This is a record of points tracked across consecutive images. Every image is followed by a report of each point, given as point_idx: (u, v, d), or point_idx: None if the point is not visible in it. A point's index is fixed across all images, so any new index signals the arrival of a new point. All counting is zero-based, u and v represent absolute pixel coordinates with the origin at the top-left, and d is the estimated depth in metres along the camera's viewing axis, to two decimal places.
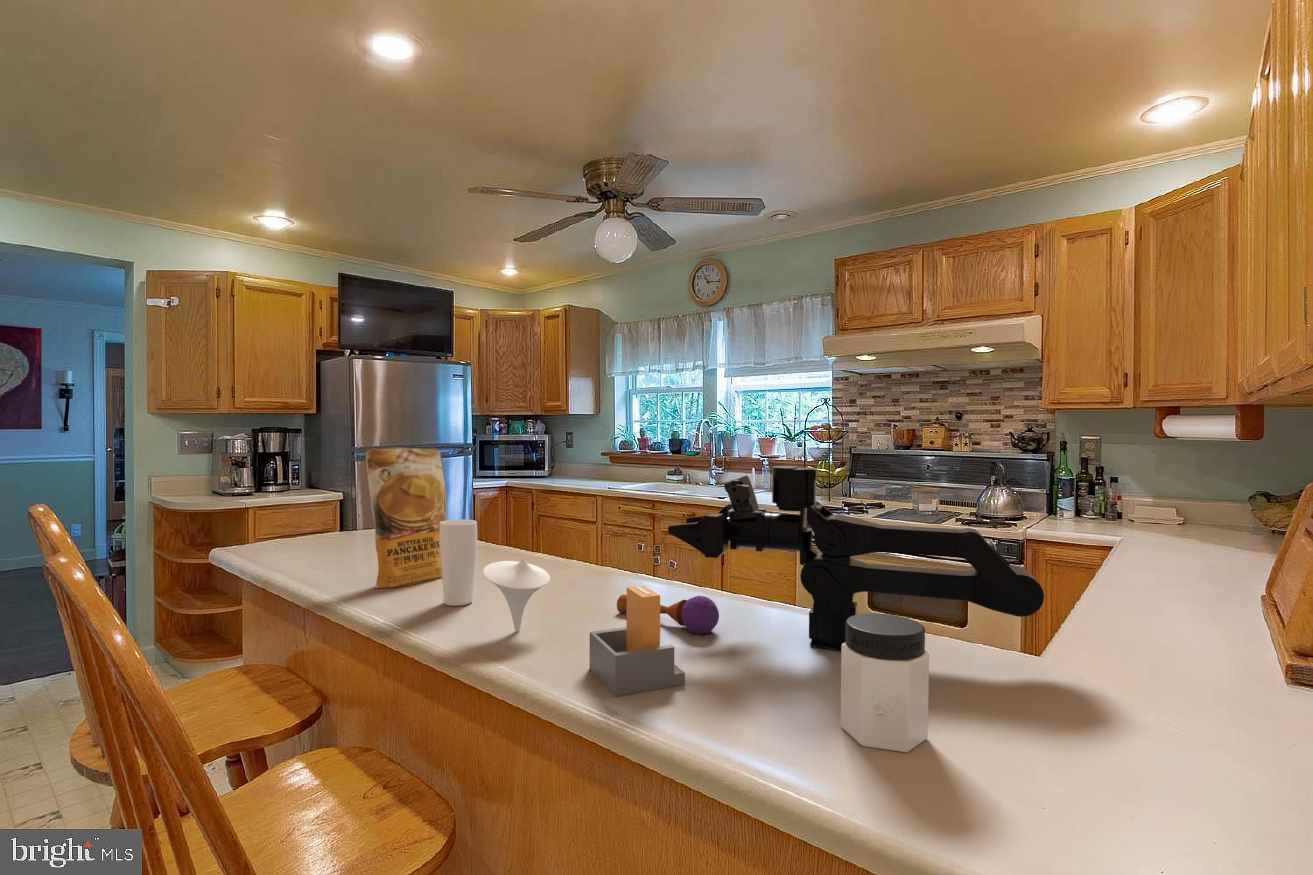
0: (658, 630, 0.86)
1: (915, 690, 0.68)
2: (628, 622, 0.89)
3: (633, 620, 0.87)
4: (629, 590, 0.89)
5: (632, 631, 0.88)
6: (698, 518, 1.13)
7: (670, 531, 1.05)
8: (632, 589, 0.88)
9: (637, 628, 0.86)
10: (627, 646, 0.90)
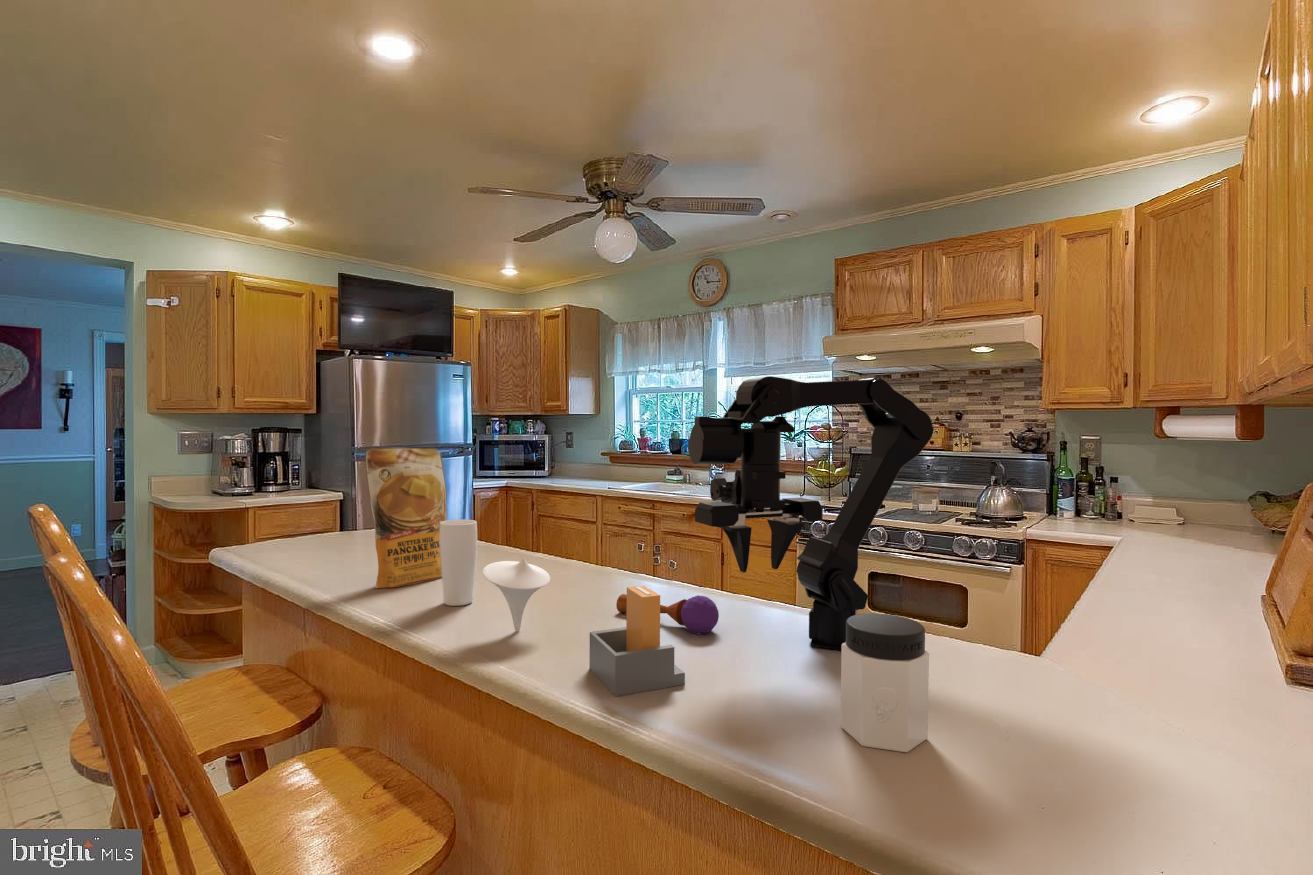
0: (658, 630, 0.86)
1: (915, 690, 0.68)
2: (628, 622, 0.89)
3: (633, 620, 0.87)
4: (629, 590, 0.89)
5: (632, 631, 0.88)
6: (771, 553, 0.98)
7: (742, 569, 0.95)
8: (632, 589, 0.88)
9: (637, 628, 0.86)
10: (627, 646, 0.90)
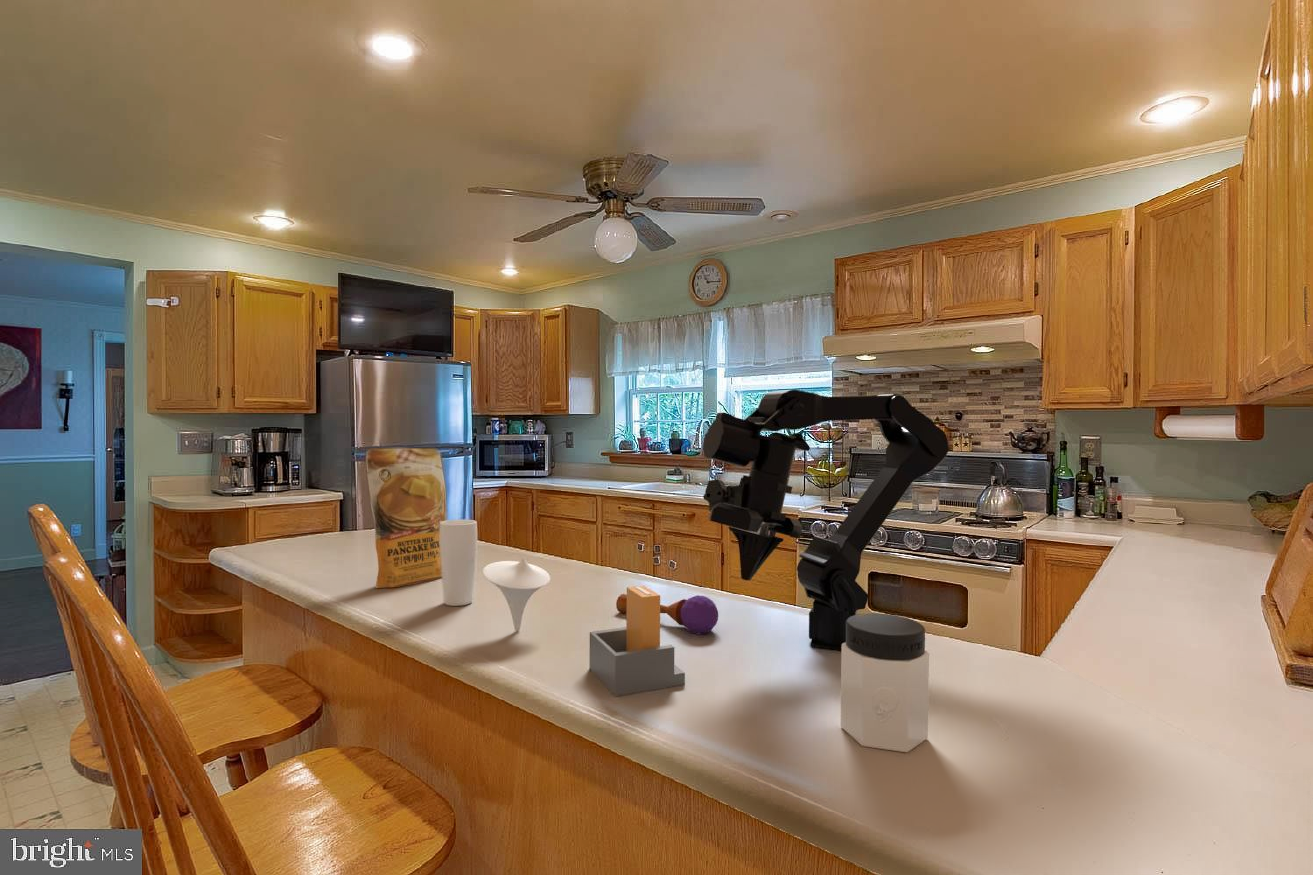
0: (658, 630, 0.86)
1: (915, 690, 0.68)
2: (628, 622, 0.89)
3: (633, 620, 0.87)
4: (629, 590, 0.89)
5: (632, 631, 0.88)
6: None
7: (746, 577, 0.95)
8: (632, 589, 0.88)
9: (637, 628, 0.86)
10: (627, 646, 0.90)
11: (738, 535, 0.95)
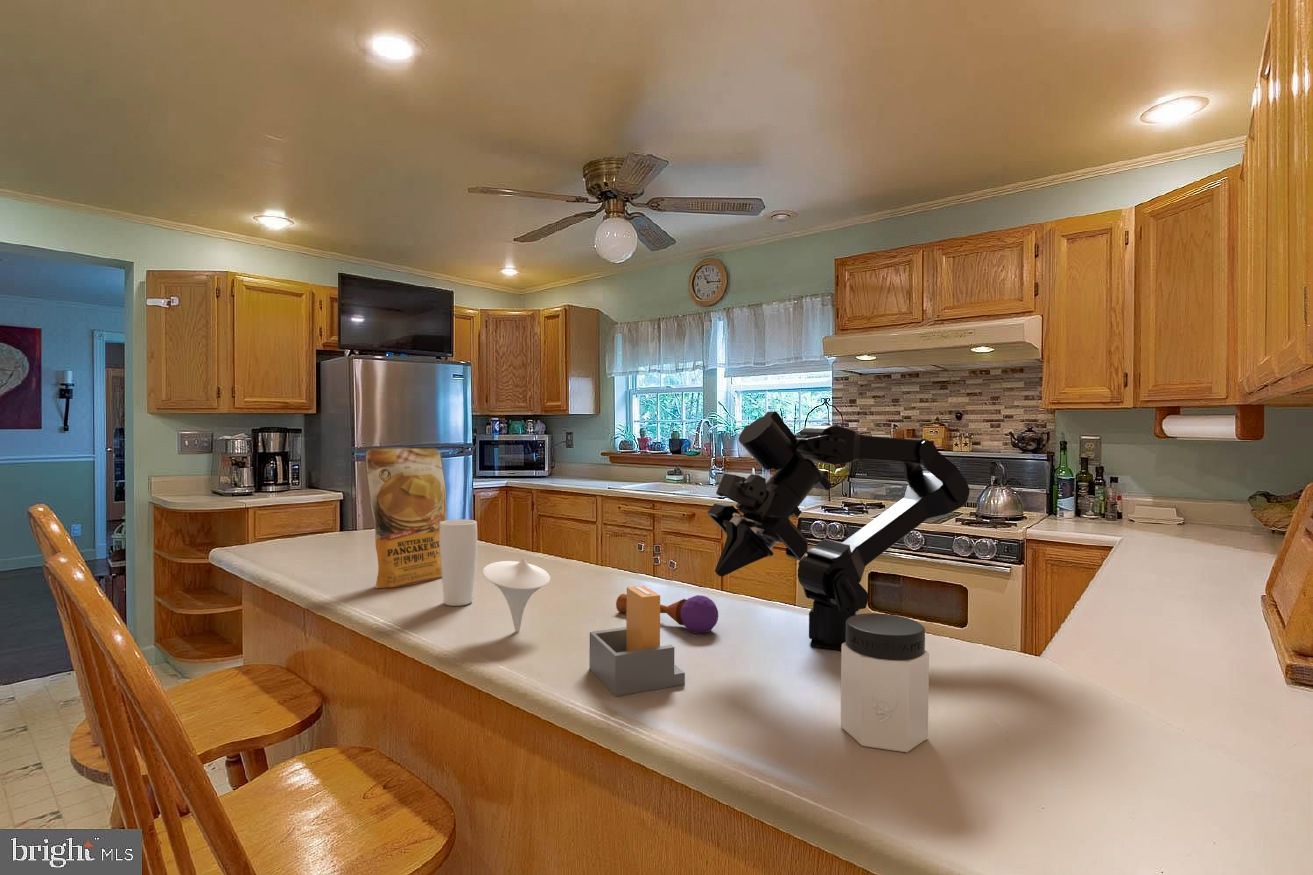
0: (658, 630, 0.86)
1: (915, 690, 0.68)
2: (628, 622, 0.89)
3: (633, 620, 0.87)
4: (629, 590, 0.89)
5: (632, 631, 0.88)
6: None
7: (722, 573, 0.92)
8: (632, 589, 0.88)
9: (637, 628, 0.86)
10: (627, 646, 0.90)
11: (745, 537, 0.91)
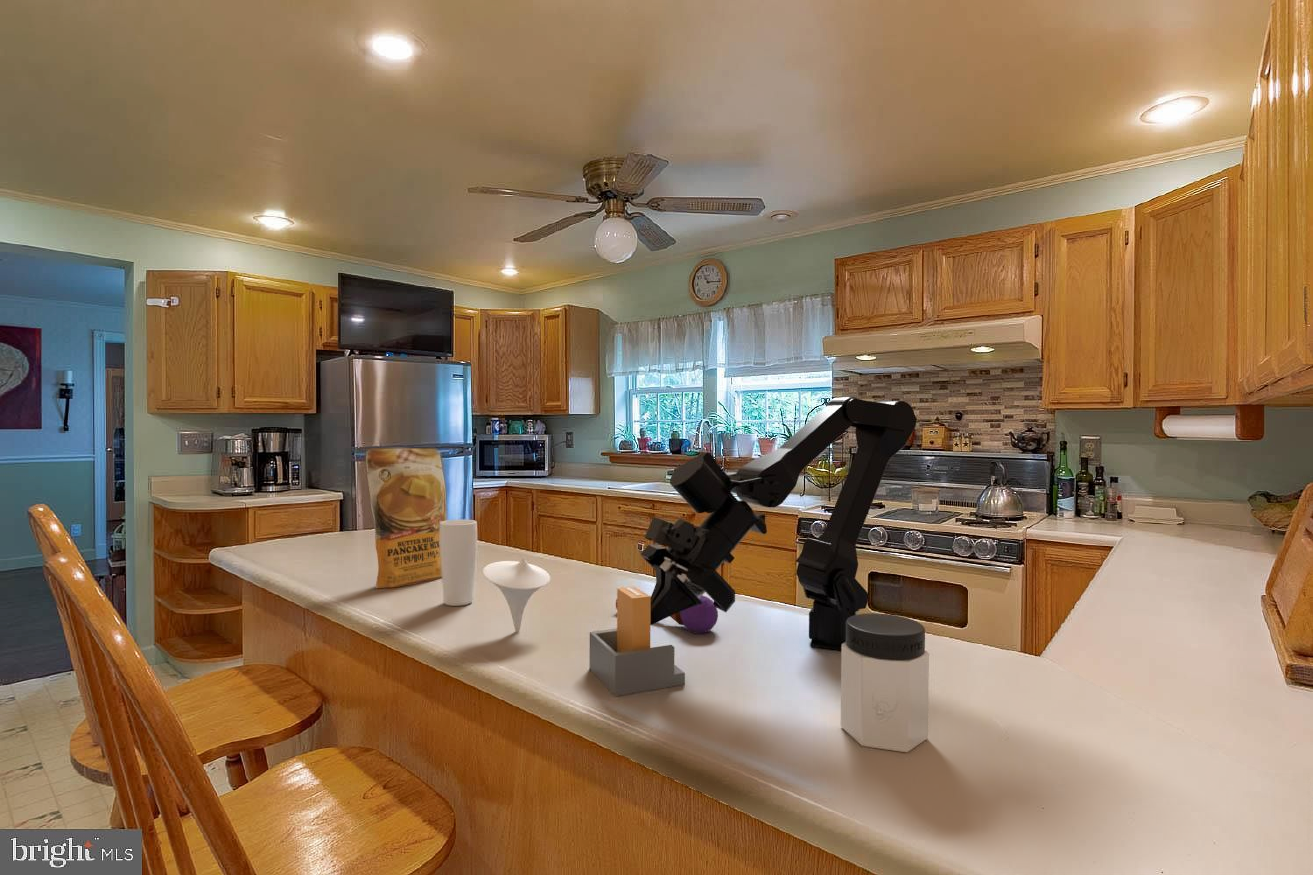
0: (648, 631, 0.85)
1: (915, 690, 0.68)
2: (618, 623, 0.89)
3: (623, 621, 0.87)
4: (620, 591, 0.88)
5: (623, 633, 0.87)
6: None
7: None
8: (623, 590, 0.88)
9: (627, 629, 0.86)
10: (617, 647, 0.89)
11: (673, 585, 0.87)
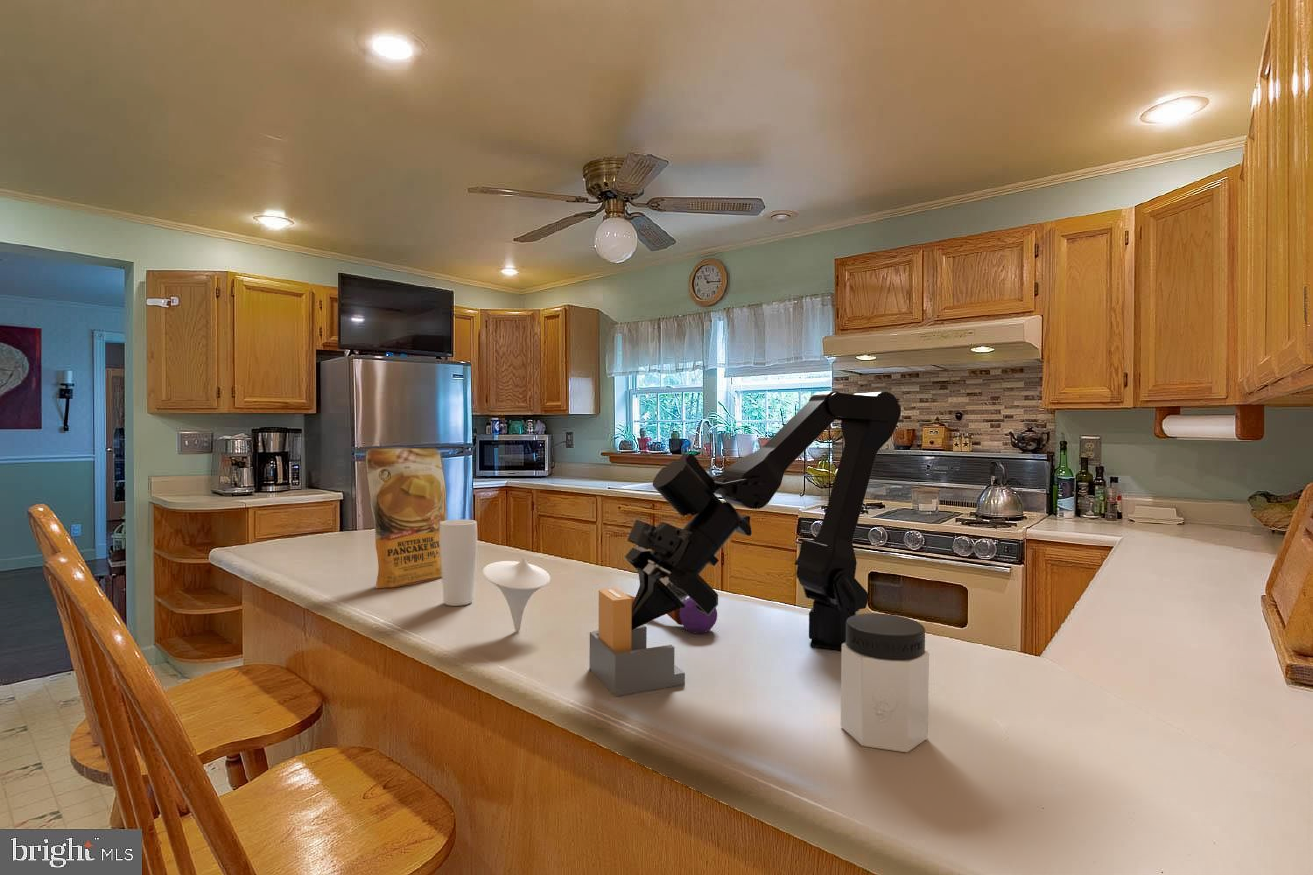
0: (629, 634, 0.84)
1: (915, 690, 0.68)
2: (599, 625, 0.88)
3: (604, 624, 0.86)
4: (601, 593, 0.87)
5: (604, 635, 0.86)
6: None
7: (632, 627, 0.87)
8: (604, 592, 0.87)
9: (608, 631, 0.85)
10: None
11: (656, 588, 0.86)
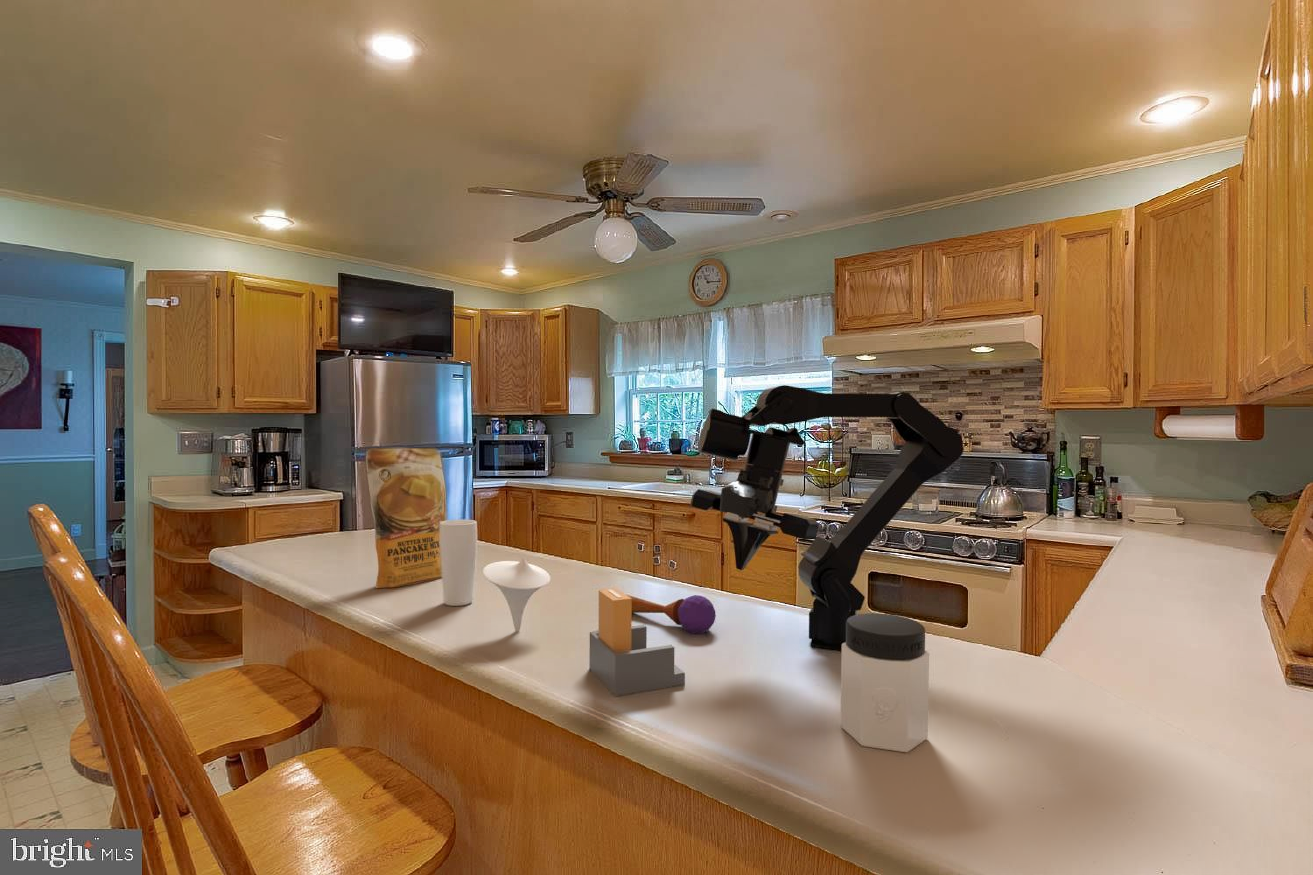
0: (629, 634, 0.84)
1: (915, 690, 0.68)
2: (599, 625, 0.88)
3: (604, 624, 0.86)
4: (601, 593, 0.87)
5: (604, 635, 0.86)
6: (741, 555, 0.99)
7: (744, 567, 0.99)
8: (604, 592, 0.87)
9: (608, 631, 0.85)
10: None
11: (758, 534, 0.97)
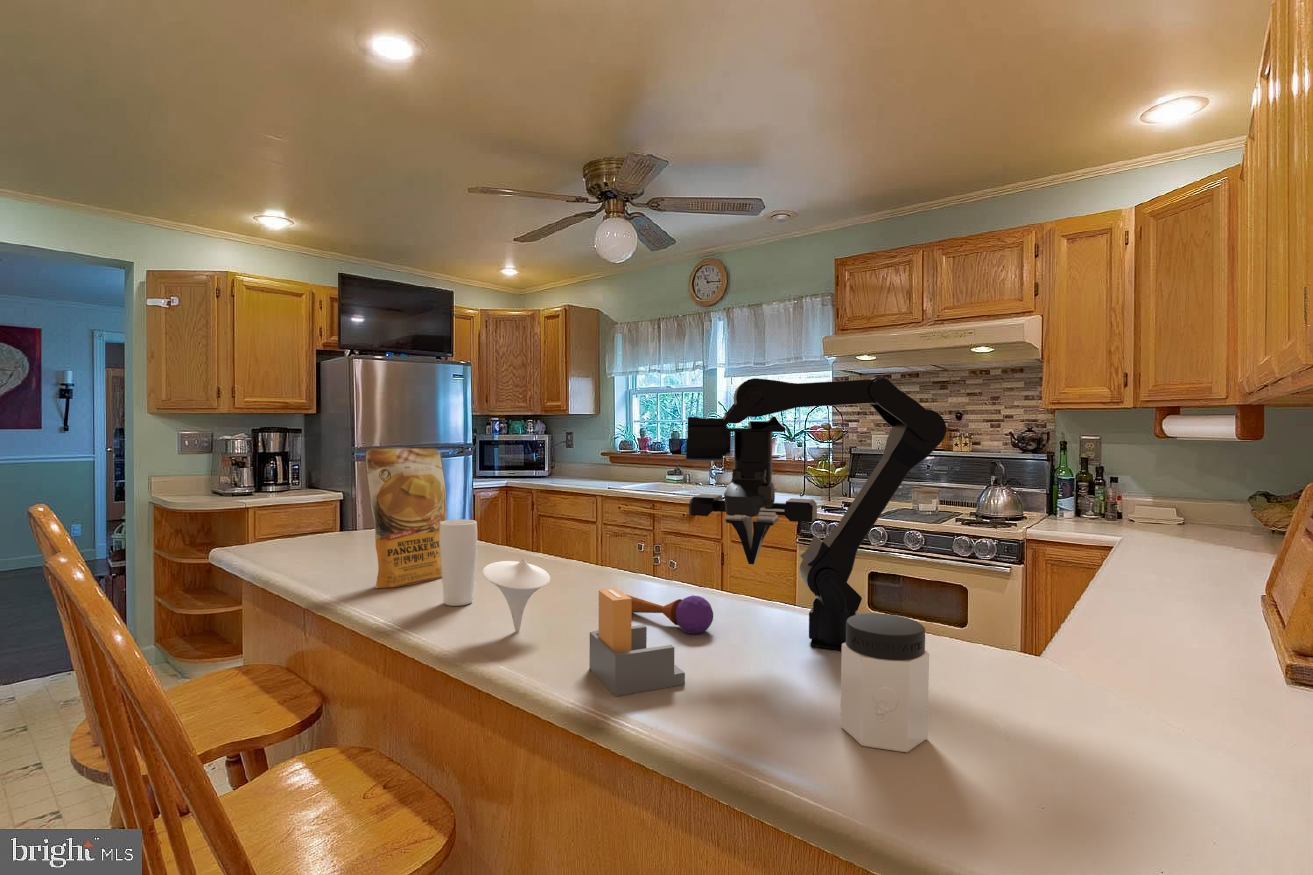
0: (629, 634, 0.84)
1: (915, 690, 0.68)
2: (599, 625, 0.88)
3: (604, 624, 0.86)
4: (601, 593, 0.87)
5: (604, 635, 0.86)
6: (750, 550, 1.00)
7: (755, 560, 1.01)
8: (604, 592, 0.87)
9: (608, 631, 0.85)
10: None
11: None
